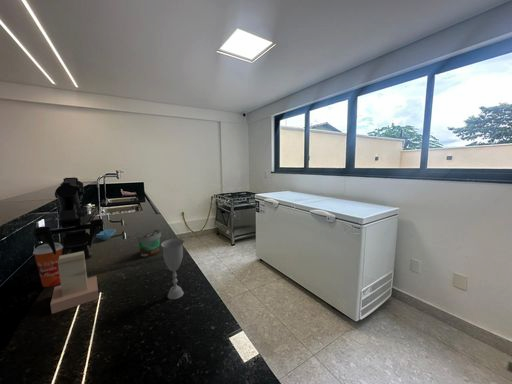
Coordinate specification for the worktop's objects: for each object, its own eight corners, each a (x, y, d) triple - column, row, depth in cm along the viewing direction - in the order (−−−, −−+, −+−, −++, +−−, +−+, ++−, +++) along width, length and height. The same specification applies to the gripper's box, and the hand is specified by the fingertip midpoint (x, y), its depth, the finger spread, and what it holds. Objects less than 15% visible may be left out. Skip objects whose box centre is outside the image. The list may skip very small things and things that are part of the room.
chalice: (168, 288, 74) (165, 239, 72) (188, 287, 75) (186, 238, 72) (161, 302, 67) (157, 247, 64) (183, 301, 68) (180, 247, 65)
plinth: (51, 313, 62) (50, 304, 61) (55, 295, 70) (54, 286, 70) (98, 298, 69) (97, 290, 68) (97, 283, 77) (96, 275, 77)
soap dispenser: (119, 238, 121) (118, 223, 120) (98, 244, 113) (96, 228, 112) (107, 232, 132) (106, 218, 131) (86, 237, 124) (85, 222, 122)
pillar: (64, 287, 69) (59, 255, 68) (87, 281, 73) (83, 250, 72) (62, 296, 65) (57, 262, 63) (87, 289, 68) (83, 257, 67)
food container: (151, 260, 95) (149, 238, 94) (139, 258, 96) (137, 237, 95) (167, 249, 107) (166, 230, 106) (156, 248, 108) (155, 229, 107)
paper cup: (34, 291, 72) (27, 252, 70) (43, 280, 79) (37, 244, 77) (63, 285, 76) (58, 248, 74) (70, 275, 83) (65, 240, 81)
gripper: (29, 204, 69) (28, 247, 62) (100, 197, 81) (105, 233, 74) (37, 221, 77) (36, 262, 70) (101, 213, 88) (106, 247, 81)
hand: (73, 250), depth 73 cm, fingers open, 9 cm apart
